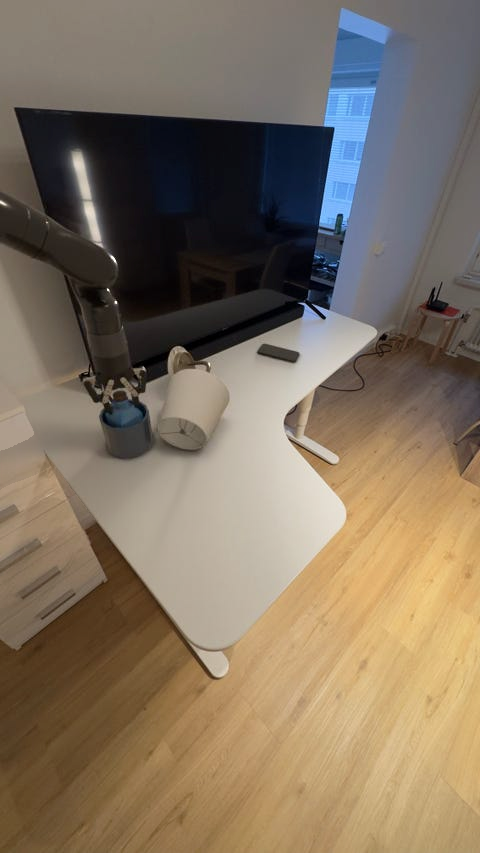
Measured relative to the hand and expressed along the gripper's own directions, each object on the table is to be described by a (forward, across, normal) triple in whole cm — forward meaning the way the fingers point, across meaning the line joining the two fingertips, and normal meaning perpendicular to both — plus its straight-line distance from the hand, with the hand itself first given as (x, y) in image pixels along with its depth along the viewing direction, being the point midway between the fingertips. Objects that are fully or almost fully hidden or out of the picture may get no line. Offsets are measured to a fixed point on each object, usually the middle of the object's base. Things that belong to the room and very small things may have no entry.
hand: (122, 409), depth 83 cm
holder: (+11, 0, 0) cm, 11 cm away
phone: (+11, -61, -27) cm, 68 cm away
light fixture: (+11, -20, -6) cm, 24 cm away
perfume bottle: (+8, 0, 0) cm, 8 cm away
